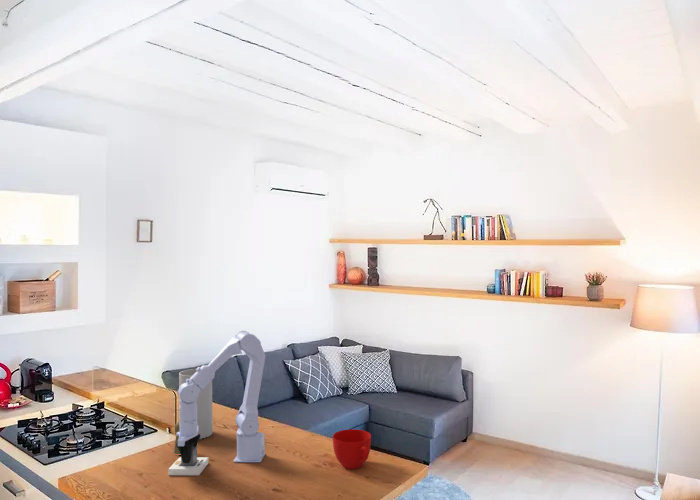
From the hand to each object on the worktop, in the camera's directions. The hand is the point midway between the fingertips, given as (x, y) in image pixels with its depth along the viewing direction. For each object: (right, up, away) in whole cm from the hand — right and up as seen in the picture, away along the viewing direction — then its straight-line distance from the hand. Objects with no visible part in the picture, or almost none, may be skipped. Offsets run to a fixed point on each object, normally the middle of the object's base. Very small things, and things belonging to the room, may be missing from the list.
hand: (188, 460), depth 180 cm
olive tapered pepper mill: (-7, -3, +15) cm, 17 cm away
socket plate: (0, -3, 0) cm, 3 cm away
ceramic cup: (+56, -3, 0) cm, 56 cm away
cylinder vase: (-7, -3, +33) cm, 34 cm away
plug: (0, -2, 0) cm, 2 cm away
